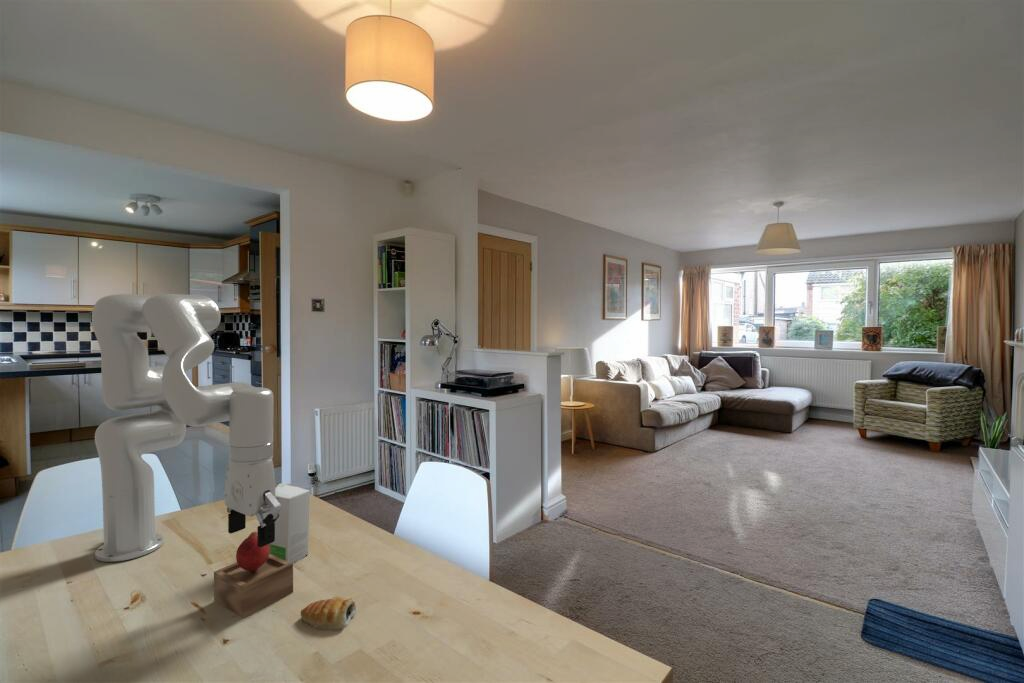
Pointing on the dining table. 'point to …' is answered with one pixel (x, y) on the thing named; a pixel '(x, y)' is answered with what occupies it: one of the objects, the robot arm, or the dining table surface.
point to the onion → (252, 553)
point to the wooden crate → (253, 586)
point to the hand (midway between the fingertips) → (251, 537)
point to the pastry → (329, 613)
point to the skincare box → (291, 524)
